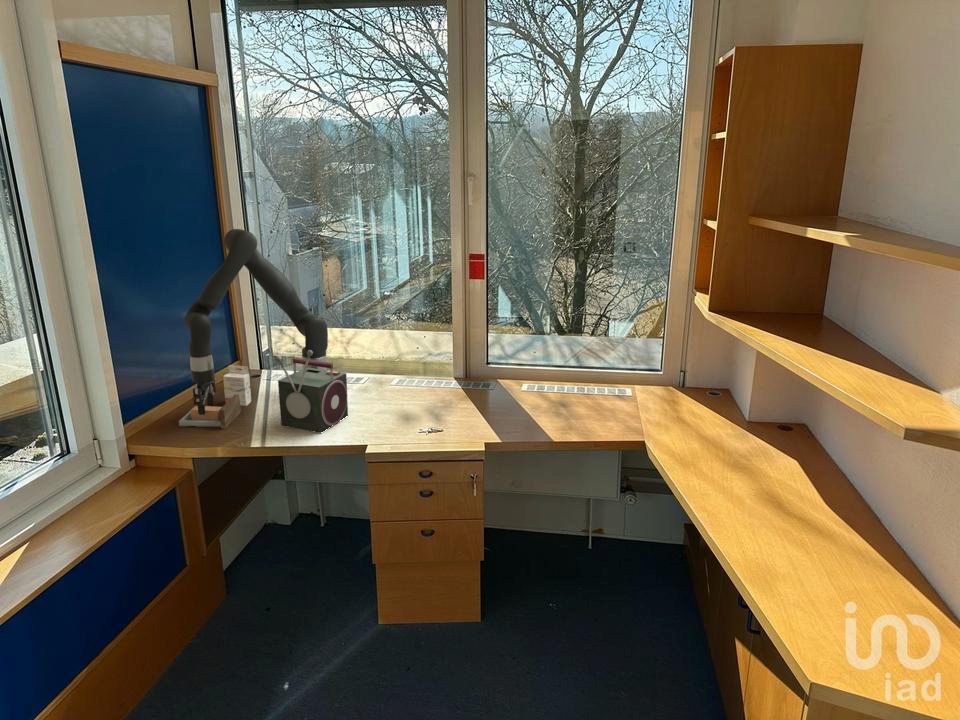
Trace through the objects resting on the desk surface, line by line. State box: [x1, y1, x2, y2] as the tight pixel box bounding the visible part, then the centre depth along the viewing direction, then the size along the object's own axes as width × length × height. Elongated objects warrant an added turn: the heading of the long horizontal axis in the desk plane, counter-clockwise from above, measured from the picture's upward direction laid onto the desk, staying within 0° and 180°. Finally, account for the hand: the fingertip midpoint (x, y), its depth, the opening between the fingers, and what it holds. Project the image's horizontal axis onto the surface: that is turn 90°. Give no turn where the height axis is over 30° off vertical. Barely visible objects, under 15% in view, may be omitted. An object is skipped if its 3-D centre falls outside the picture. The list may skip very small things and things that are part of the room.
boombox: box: [275, 350, 349, 433], centre depth 236 cm, size 18×21×30 cm
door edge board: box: [219, 394, 242, 430], centre depth 238 cm, size 2×16×7 cm, turn 1°
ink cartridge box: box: [222, 364, 252, 407], centre depth 253 cm, size 9×5×15 cm, turn 84°
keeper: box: [178, 410, 221, 428], centre depth 239 cm, size 15×13×2 cm
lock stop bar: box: [190, 405, 223, 421], centre depth 238 cm, size 10×4×4 cm, turn 86°
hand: (206, 410), depth 238 cm, fingers open, 8 cm apart
